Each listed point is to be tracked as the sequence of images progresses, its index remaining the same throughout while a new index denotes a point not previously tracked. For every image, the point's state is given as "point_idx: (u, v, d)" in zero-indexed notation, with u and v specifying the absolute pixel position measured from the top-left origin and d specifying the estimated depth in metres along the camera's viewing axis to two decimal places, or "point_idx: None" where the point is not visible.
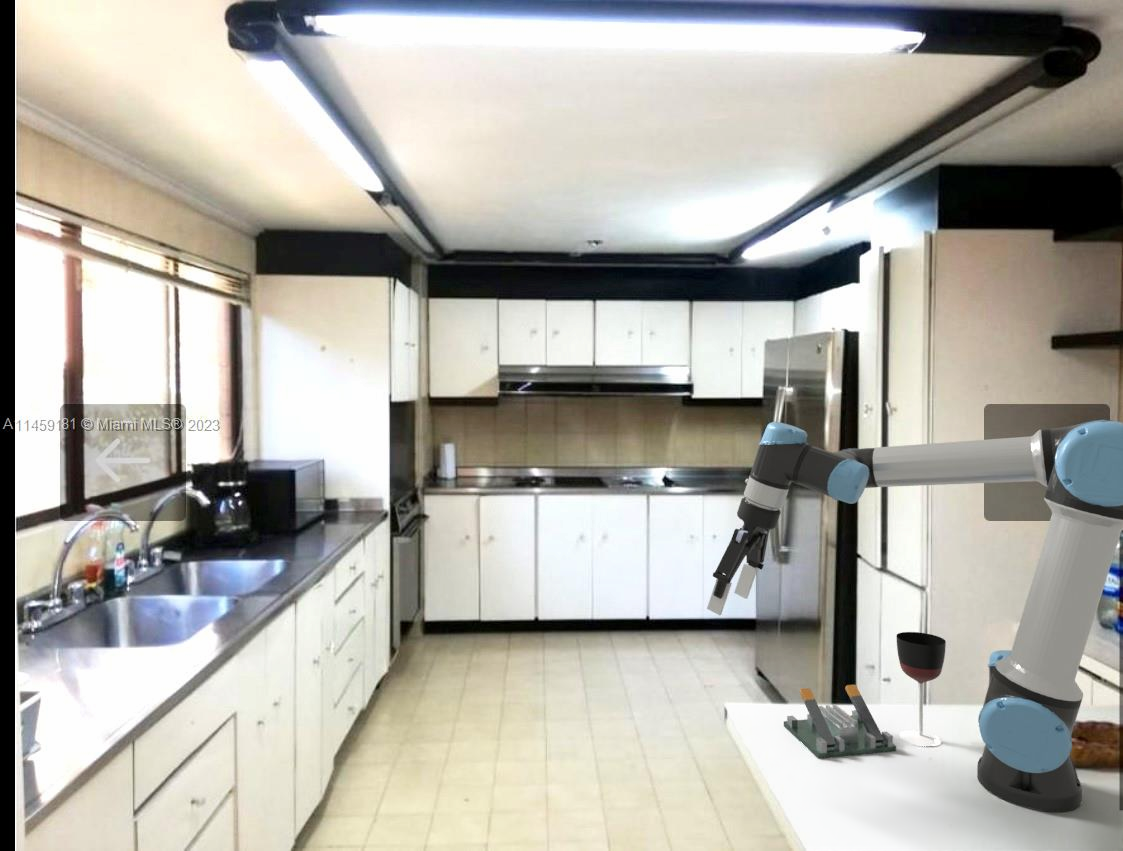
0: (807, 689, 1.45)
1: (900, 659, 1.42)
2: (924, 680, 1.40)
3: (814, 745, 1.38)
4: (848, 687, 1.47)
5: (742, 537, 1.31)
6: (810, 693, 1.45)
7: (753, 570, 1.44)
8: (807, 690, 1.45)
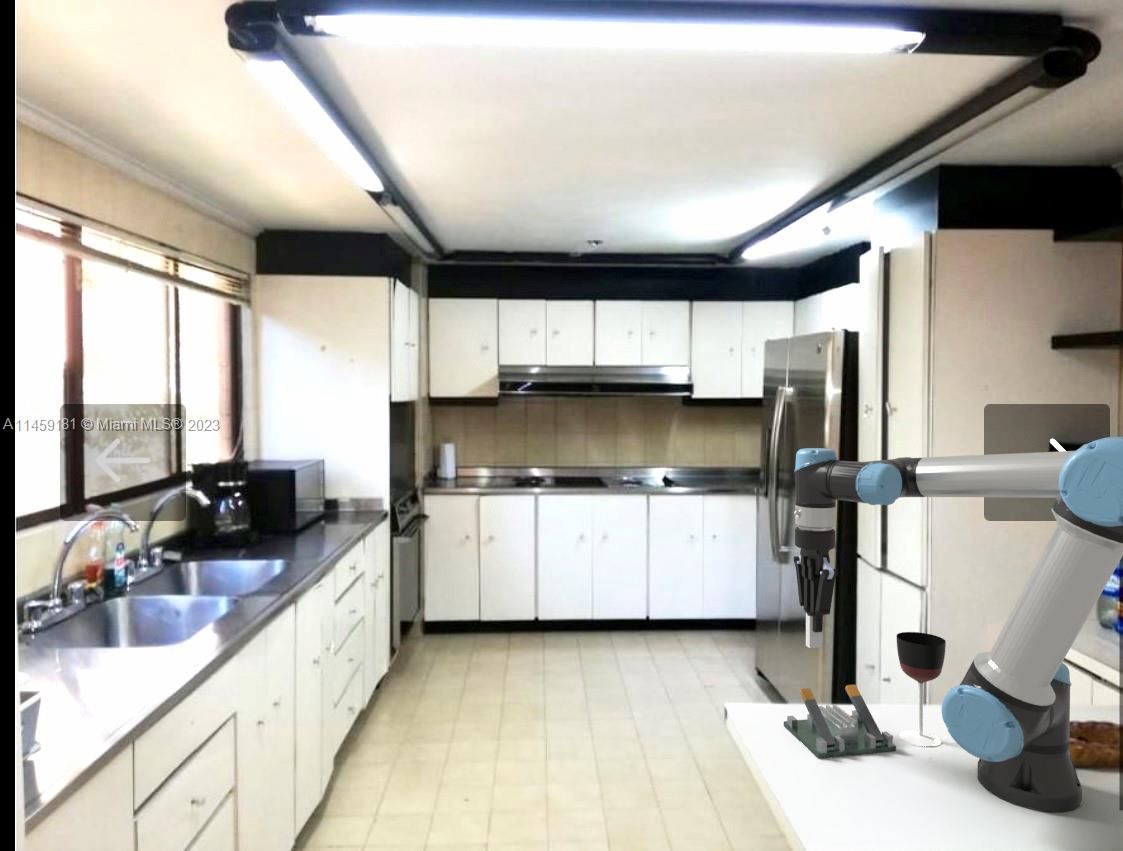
0: (807, 689, 1.45)
1: (900, 659, 1.42)
2: (924, 680, 1.40)
3: (814, 745, 1.38)
4: (848, 687, 1.47)
5: (833, 575, 1.35)
6: (810, 693, 1.45)
7: None
8: (807, 690, 1.45)
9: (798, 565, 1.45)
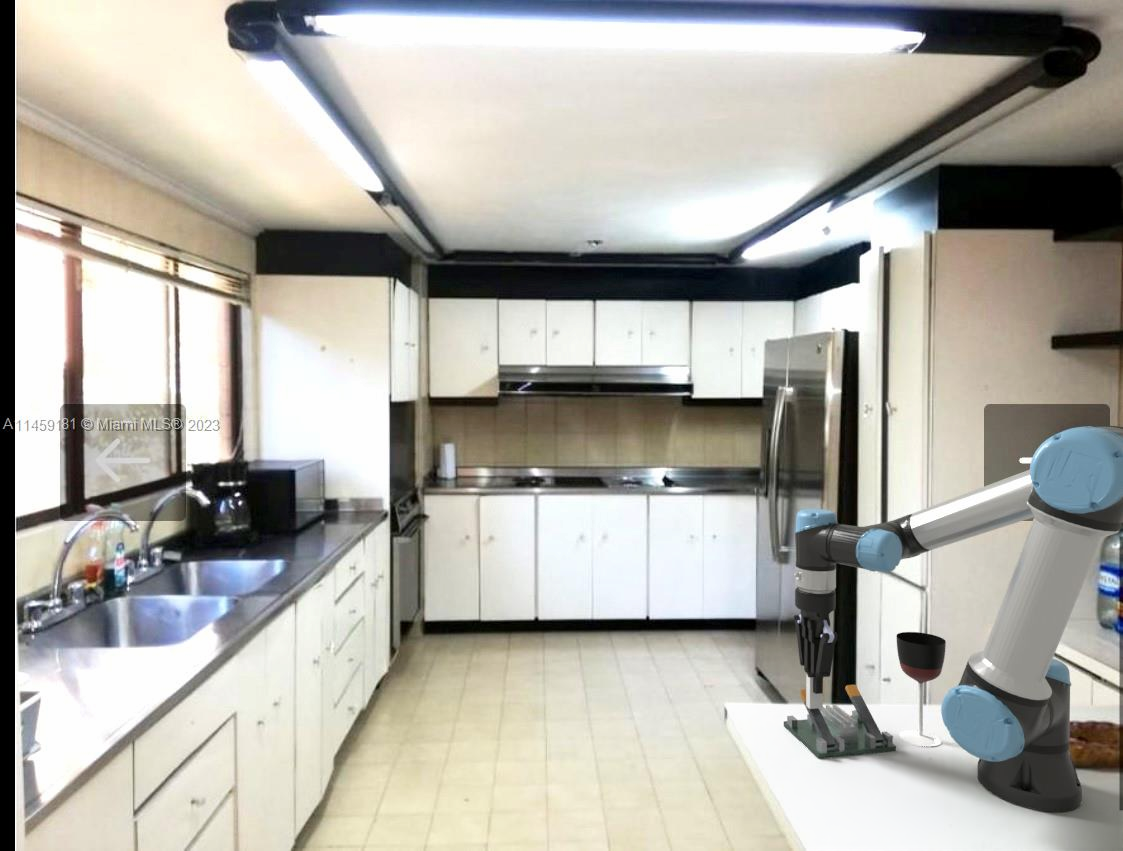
0: None
1: (900, 659, 1.42)
2: (924, 680, 1.40)
3: (814, 745, 1.38)
4: (848, 687, 1.47)
5: (834, 639, 1.35)
6: None
7: None
8: None
9: (798, 624, 1.46)
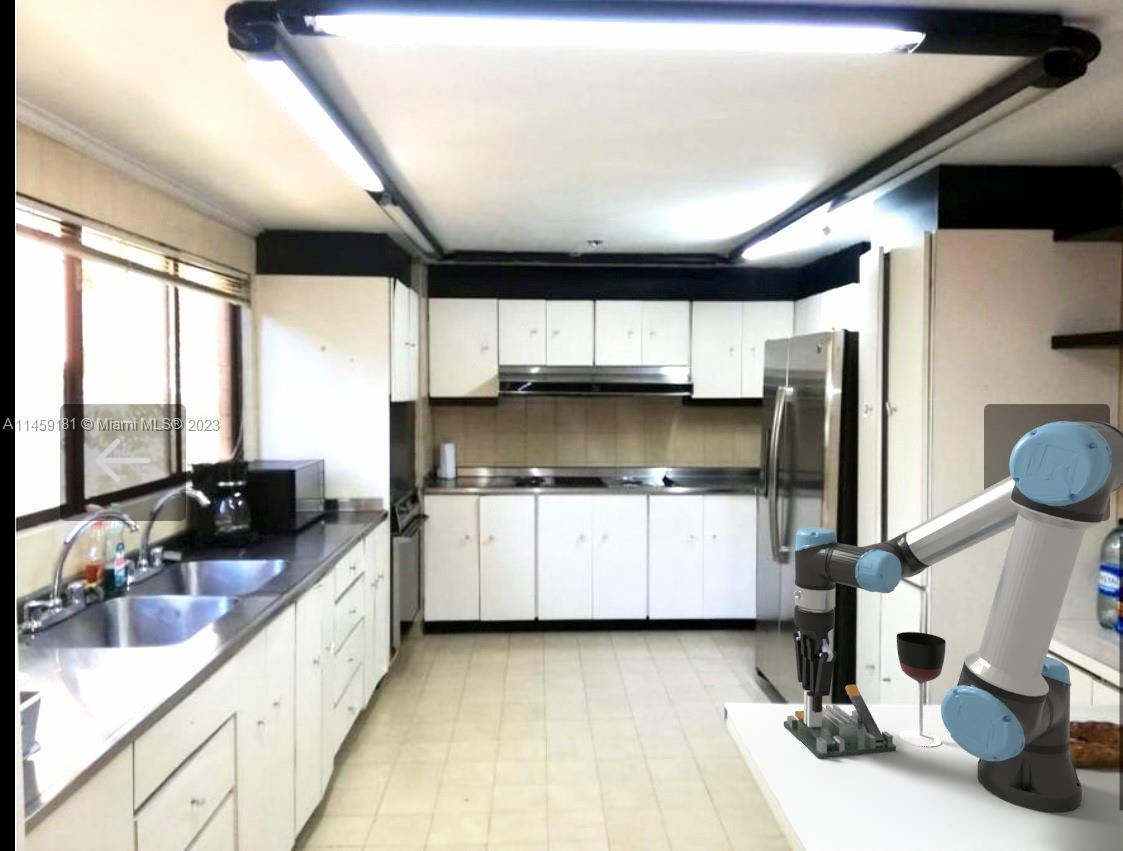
0: (801, 711, 1.48)
1: (900, 659, 1.42)
2: (924, 680, 1.40)
3: (814, 745, 1.38)
4: (848, 687, 1.47)
5: (833, 658, 1.36)
6: None
7: None
8: (802, 711, 1.47)
9: (797, 641, 1.46)
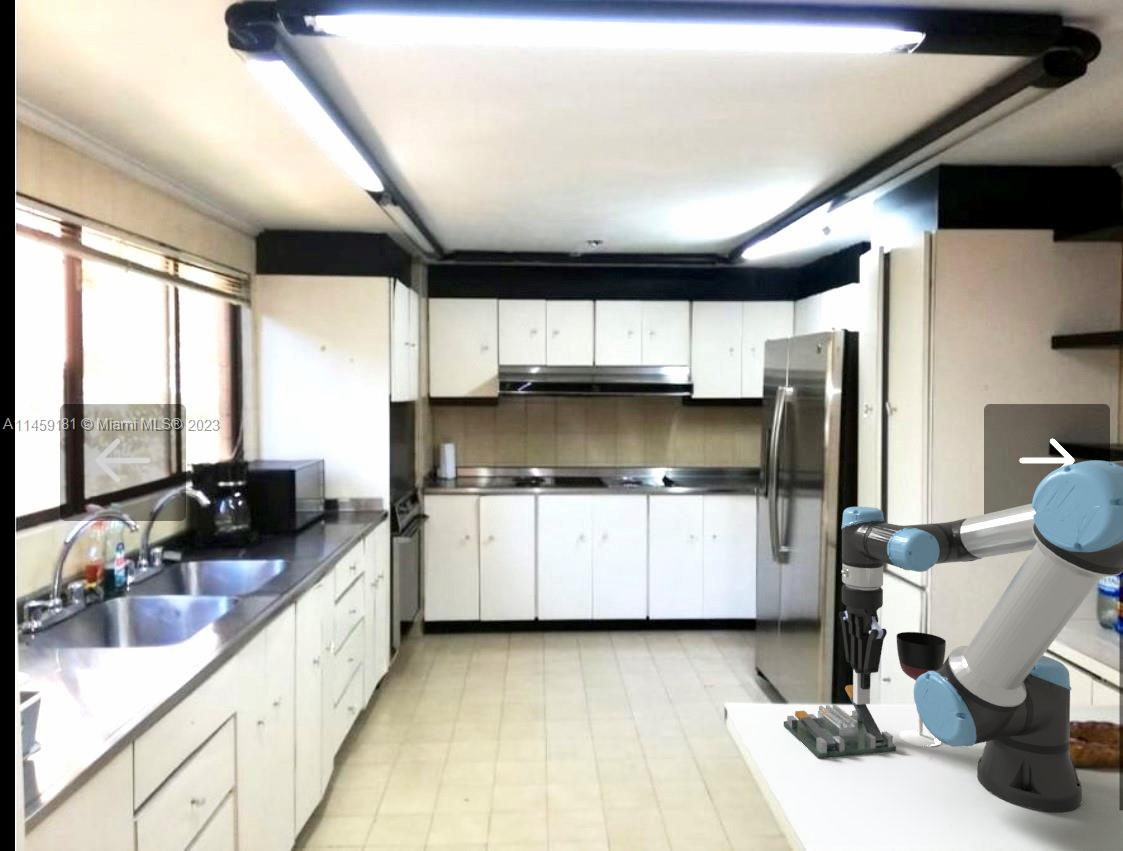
0: (801, 711, 1.48)
1: (900, 659, 1.42)
2: None
3: (814, 745, 1.38)
4: (848, 687, 1.47)
5: (882, 635, 1.37)
6: (805, 713, 1.47)
7: None
8: (802, 711, 1.48)
9: (844, 621, 1.47)
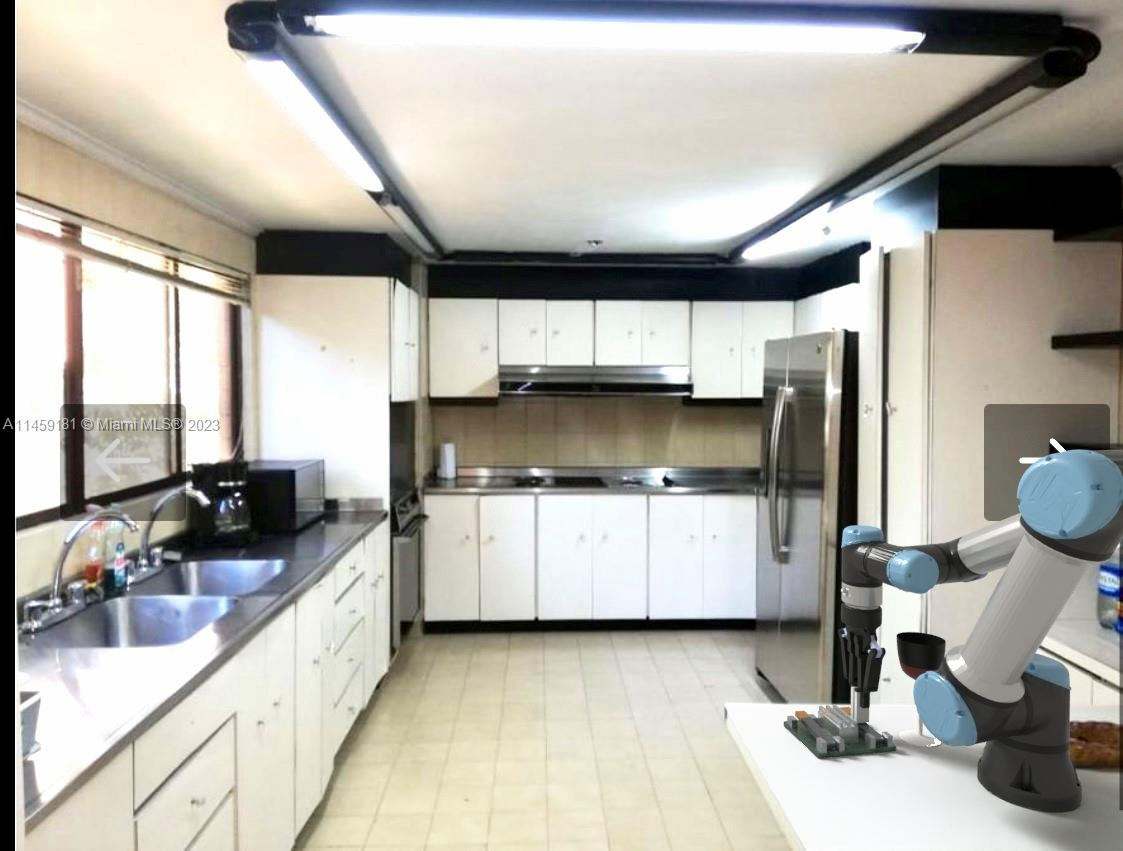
0: (801, 711, 1.48)
1: (900, 659, 1.42)
2: None
3: (814, 745, 1.38)
4: (842, 708, 1.49)
5: (882, 654, 1.37)
6: (805, 713, 1.47)
7: None
8: (802, 711, 1.48)
9: (843, 638, 1.48)
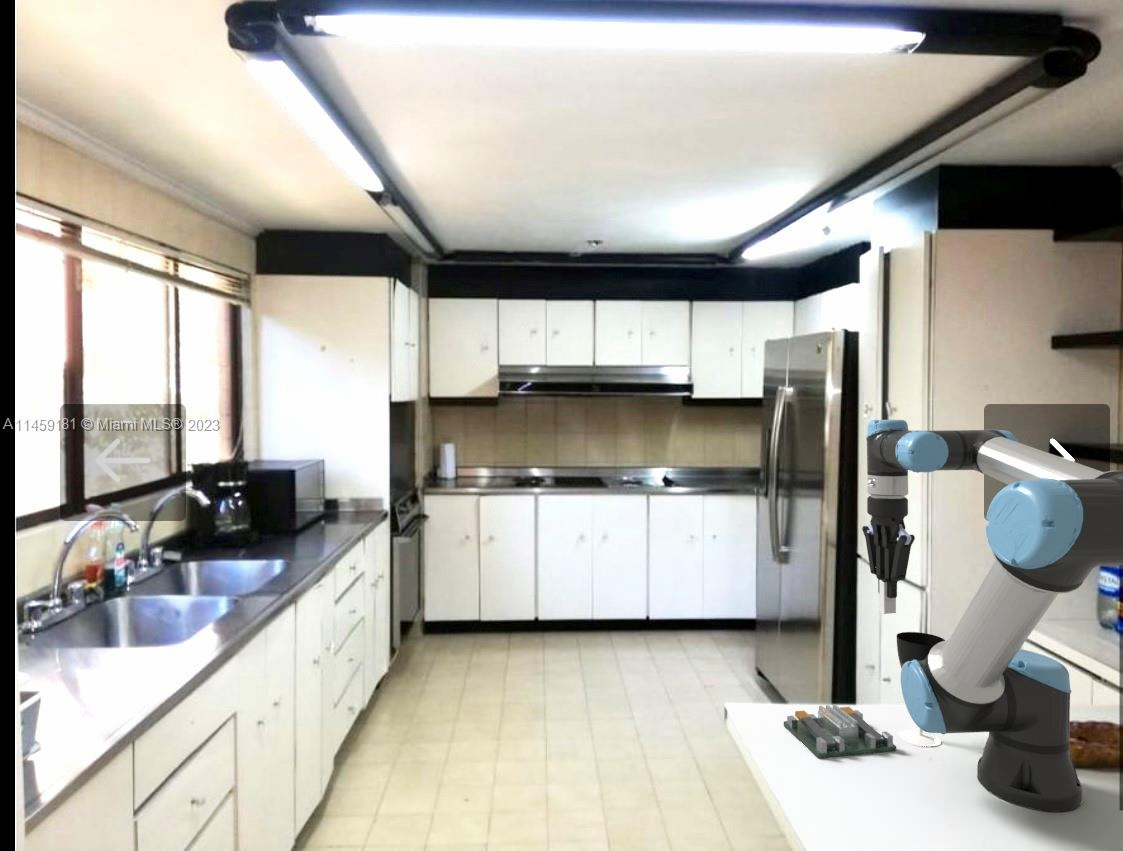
0: (801, 711, 1.48)
1: (900, 659, 1.42)
2: None
3: (814, 745, 1.38)
4: (842, 708, 1.49)
5: (911, 541, 1.39)
6: (805, 713, 1.47)
7: None
8: (802, 711, 1.48)
9: (868, 534, 1.49)
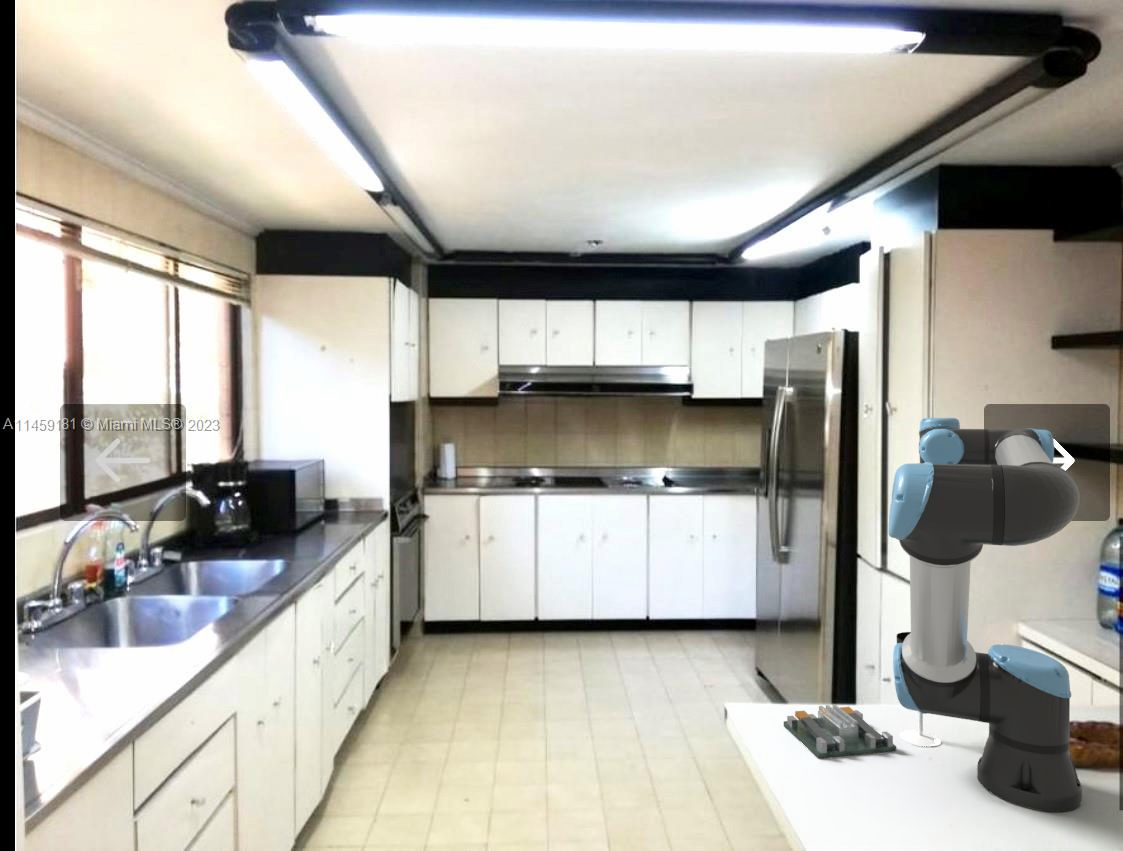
0: (801, 711, 1.48)
1: None
2: None
3: (814, 745, 1.38)
4: (842, 708, 1.49)
5: None
6: (805, 713, 1.47)
7: None
8: (802, 711, 1.48)
9: None
